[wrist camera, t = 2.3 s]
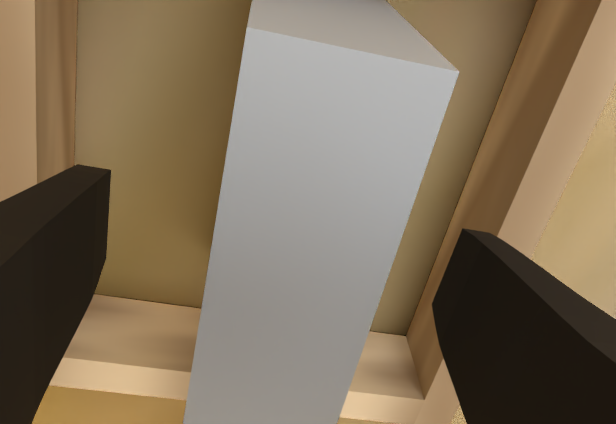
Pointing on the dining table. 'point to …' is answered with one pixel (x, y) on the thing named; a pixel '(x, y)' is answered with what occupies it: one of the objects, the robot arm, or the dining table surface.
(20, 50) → the wooden tray
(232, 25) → the dining table surface
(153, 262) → the dining table surface
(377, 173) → the tall block
